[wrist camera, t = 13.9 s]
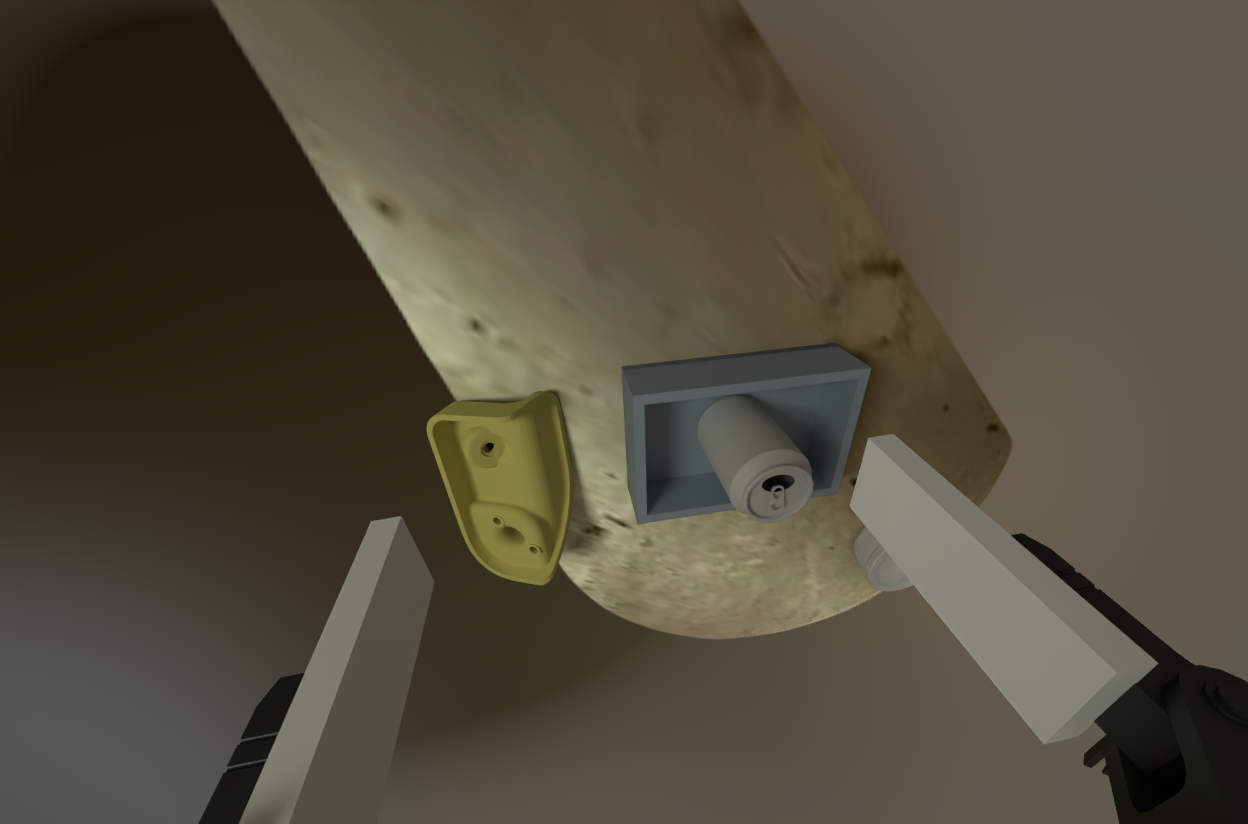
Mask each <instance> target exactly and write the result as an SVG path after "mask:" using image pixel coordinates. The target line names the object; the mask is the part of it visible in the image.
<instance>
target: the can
mask: <svg viewBox="0 0 1248 824" xmlns="http://www.w3.org/2000/svg"><path fill="white" fill-rule="evenodd" d="M697 439H698V441H699V443H700V445H701V447H702V449H703V451H704V452H705V454H706V456H707V458H708V460H709V462H710V463H711V465H712V467H713V469H714V471H715V473H716V475H717V476H718V478H719V480H720V482H721V484H722V486H723V488H724V489H725V491H726V493H727V495H728V497H729V499H730V501H731V502H732V504H733V506H734V508H736V509H737V510H738V511H739V512H741V513H742V514H746V515H747V516H748V517H750V518H751V519H752V520H754V521H758V522H761V523H773V522H778V521H782V520H784V519H787V518H789V517H791V516H793V515H794V514H796V513H797V512H798V511H800V510H801V509H802V508H803V507H804V506H805V504H806V503H807V502H808V501H809V499H810V497H811V494H812V492H813V485H814V482H813V480H812V477H811V474H812V469H811V466H810V463H809V460H808V459H807V458H806V457H805V456H804V455H803V454H802V452H801V451H800V450H799V449H798V448H797V447H796V445H795V444H794V443H793V442H792V441H791V440H790V438H789V437H788V436H787V435H786V434H785V433H784V431H783V430H782V429H781V428H780V427H779V426H778V424H777V423H776V422H775V421H774V420H773V419H772V417H771V416H770V415H769V414H768V413H767V412H766V410H765V409H764V408H763V407H762V406H761V405H760V404H759V403H758V402H757V401H756V400H754V399H752V398H750V397H747V396H737V395H736V396H731V397H726V398H724V399H722V400H720V401H718V402H716V403H714V404H713V405H712V406H711V407H709V408H708V409H707V410H706V411H705V412H704V414H703V416H702V417H701V419H700V420H699V424H698V427H697Z"/></svg>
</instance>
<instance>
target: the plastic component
mask: <svg viewBox="0 0 1248 824" xmlns="http://www.w3.org/2000/svg"><path fill="white" fill-rule="evenodd" d="M427 435H428V438H429V441H430V443H431V446H432V449H433V452H434V455H435V458H436V461H437V464H438V467H439V469H440V472H441V475H442V478H443V481H444V484H445V487H446V489H447V492H448V495H449V497H450V501H451V504H452V507H453V510H454V512H455V515H456V518H457V521H458V524H459V526H460V529H461V532H462V534H463V536H464V539H465V541H466V543H467V545H468V547H469V549H470V550H471V552H472V554H473V555H474V556H475V558H476V559H477V560H478V561H479V562H480V563H481V564H482V565H483V566H484V567H486V568H487V569H488V570H490V571H491V572H493V573H495V574H497V575H498V576H501V577H503V578H506V579H509V580H514V581H519V582H525V583H530V584H536V585H544V584H546V583H547V582H549V581H550V580H551V579H552V577H553V575H554V573H555V571H556V568H557V565H558V563H559V560H560V557H561V554H562V551H563V547H564V544H565V540H566V536H567V531H568V526H569V521H570V515H571V506H572V491H573V482H572V467H571V461H570V455H569V450H568V445H567V439H566V434H565V429H564V423H563V418H562V412H561V407H560V402H559V400H558V398H557V397H556V396H555V394H553V393H551V392H546V391H539V392H535V393H533V394H532V395H530V396H529V397H527V398H526V399H523V400H521V401H517V402H512V403H494V402H475V401H456V402H454V403H451V404H450V405H449V406H447V407H446V408H444V409H443V410H442V411H440V412H439V413H437V414H436V415H435V416H433V417H432V418H431V419H430V420H429V421H428V424H427ZM487 443H493V444H494V447H493V449H492V450H489V451H485V450H484V449H483V447H484V446H485V444H487ZM499 519H500V520H499ZM534 547H535V548H534Z"/></svg>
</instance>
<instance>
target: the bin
mask: <svg viewBox="0 0 1248 824" xmlns="http://www.w3.org/2000/svg"><path fill="white" fill-rule="evenodd" d="M870 372H871V367H869V366H868V365H866V364H865V363H863V362H862V361H860V360H859V359H857V358H856V357H854V356H853V355H851V354H850V353H848V352H847V351H845V350H844V349H842V348H841V347H839V346H838V345H836V344H835V343H832V344H823V345H814V346H805V347H796V348H787V349H778V350H769V351H760V352H751V353H742V354H733V355H724V356H714V357H705V358H696V359H687V360H678V361H669V362H660V363H651V364H642V365H633V366H624V367H622V384H623V402H624V421H625V440H626V459H627V478H628V489H629V492H630V496H631V500H632V504H633V508H634V512H635V516H636V520H637V523H638V524H642V523H649V522H656V521H662V520H669V519H675V518H682V517H689V516H695V515H702V514H708V513H715V512H721V511H728V510H735V509H736V508H734V506H733V504H732V502H731V501H730V499H729V497H728V495H727V493H726V491H725V489H724V488H723V486H722V484H721V482H720V480H719V478H718V476H717V475H716V473H715V471H714V469H713V467H712V465H711V463H710V462H709V460H708V458H707V456H706V454H705V452H704V451H703V449H702V447H701V445H700V443H699V441H698V439H697V427H698V424H699V420H700V419H701V417H702V416H703V414H704V412H705V411H706V410H707V409H708V408H709V407H711V406H712V405H713V404H714V403H716V402H718V401H720V400H722V399H724V398H726V397H731V396H736V395H737V396H747V397H750V398H752V399H754V400H756V401H757V402H758V403H759V404H760V405H761V406H762V407H763V408H764V409H765V410H766V412H767V413H768V414H769V415H770V416H771V417H772V419H773V420H774V421H775V422H776V423H777V424H778V426H779V427H780V428H781V429H782V430H783V431H784V433H785V434H786V435H787V436H788V437H789V438H790V440H791V441H792V442H793V443H794V444H795V445H796V447H797V448H798V449H799V450H800V451H801V452H802V454H803V455H804V456H805V457H806V458H807V459H808V460H809V463H810V466H811V469H812V474H811V477H812V480H813V482H814V485H813V492H812V494H811V497H810V498H814V497H820V496H827V495H833V494H838V491H839V488H840V484H841V480H842V476H843V473H844V469H845V465H846V462H847V458H848V454H849V450H850V447H851V443H852V439H853V435H854V432H855V428H856V424H857V420H858V417H859V413H860V409H861V405H862V402H863V398H864V394H865V391H866V387H867V383H868V379H869V376H870Z"/></svg>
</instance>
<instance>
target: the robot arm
mask: <svg viewBox="0 0 1248 824" xmlns="http://www.w3.org/2000/svg"><path fill="white" fill-rule="evenodd" d="M850 508H851V509H852V510H853V511H854V512H855V514H856V515H857V516H858V517H859V519H860V520H861V521H862V522H863V523H864V525H865V526H866V527H867V528H868V530H869V531H870V532H871V533H872V534H873V536H874V537H875V538H876V539H877V541H878V542H879V543H880V544H881V545H882V547H883V548H884V549H885V550H886V552H887V553H888V554H889V555H890V557H891V558H892V559H893V560H894V561H895V563H896V564H897V565H898V566H899V568H900V569H901V570H902V571H903V572H904V574H905V575H906V576H907V577H908V579H909V580H910V581H911V582H912V583H913V585H914V586H915V587H916V588H917V589H918V591H919V592H920V593H921V594H922V596H923V597H924V598H925V599H926V601H927V602H928V603H929V604H930V605H931V607H932V608H933V609H934V610H935V611H936V613H937V614H938V615H939V616H940V617H941V619H942V620H943V621H944V623H945V624H946V625H947V626H948V627H949V629H950V630H951V631H952V632H953V633H954V635H955V636H956V637H957V638H958V640H959V641H960V642H961V643H962V645H963V646H964V647H965V648H966V649H967V651H968V652H969V653H970V654H971V656H972V657H973V658H974V659H975V661H976V662H977V663H978V664H979V665H980V667H981V668H982V669H983V670H984V672H985V673H986V674H987V675H988V676H989V678H990V679H991V680H992V681H993V683H994V684H995V685H996V686H997V687H998V689H999V690H1000V691H1001V692H1002V693H1003V695H1004V696H1005V697H1006V698H1007V700H1008V701H1009V702H1010V703H1011V705H1012V706H1013V707H1014V708H1015V709H1016V711H1017V712H1018V713H1019V714H1020V716H1021V717H1022V718H1023V719H1024V720H1025V722H1026V723H1027V724H1028V725H1029V727H1030V728H1031V729H1032V730H1033V731H1034V733H1035V734H1036V735H1037V736H1038V738H1039V739H1040V740H1041V741H1042V743H1043V744H1048V743H1051V742H1056V741H1060V740H1064V739H1069V738H1073V737H1077V736H1079V735H1080V734H1081V733H1083V732H1084V731H1085V730H1086V729H1087V728H1088V727H1089V726H1090V725H1091V724H1093V723H1094V722H1095V723H1097V725H1098V726H1099V727H1100V728H1101V729H1102V730H1103V731H1104V732H1105V733H1106V734H1107V735H1105V736H1104V737H1103V738H1102V739H1101V740H1100V741H1098V742H1097V743H1096V744H1095V745H1094V746H1093V747H1091V748H1090V749H1089V750H1088V751H1087V752H1086V753H1085V754H1084V765H1085V766H1088V767H1090V768H1092V767H1093V766H1094V765H1095V764H1097V763H1098V762H1099V761H1100V760H1102V759H1103V758H1104V757H1105V760H1106V766H1105V767H1104V769H1103V770H1102V773H1103V774H1105V775H1108V776H1109V778H1110V783H1111V788H1112V792H1113V797H1114V801H1115V806H1116V810H1117V815H1118V819H1119V824H1248V682H1246V681H1245V680H1243V679H1241V678H1238V677H1236V676H1234V675H1231V674H1229V673H1227V672H1225V671H1222V670H1219V669H1215V668H1211V667H1206V666H1202V665H1197V666H1196V665H1194V664H1192V663H1190V662H1189V661H1188V660H1186V659H1185V658H1184V657H1182V656H1181V655H1179V654H1178V653H1177V652H1175V651H1174V650H1173V649H1172V648H1171V647H1169V646H1168V645H1167V644H1166V643H1164V642H1163V641H1162V640H1161V639H1160V638H1158V637H1157V636H1156V635H1155V634H1153V633H1152V632H1151V631H1150V630H1149V629H1147V628H1146V627H1145V626H1144V625H1143V624H1141V623H1140V622H1139V621H1138V620H1137V619H1135V618H1134V617H1133V616H1132V615H1130V614H1129V613H1128V612H1127V611H1126V610H1124V609H1123V608H1122V607H1121V606H1120V605H1118V604H1117V603H1116V602H1115V601H1113V600H1112V599H1111V598H1110V597H1109V596H1107V595H1106V594H1105V593H1104V592H1102V591H1101V590H1100V589H1099V590H1097V589H1096V588H1095V586H1094V584H1093V583H1091V582H1090V581H1089V580H1088V579H1087V578H1086V577H1084V576H1083V575H1082V574H1081V573H1077V572H1075V570H1074V569H1075V568H1073V567H1072V566H1071V565H1070V564H1069V563H1067V562H1066V561H1065V560H1064V559H1062V558H1061V557H1060V556H1059V555H1057V554H1056V553H1055V552H1054V551H1053V550H1051V549H1050V548H1048V547H1046V546H1044V545H1043V544H1041V543H1039V542H1037V541H1035V540H1034V539H1032V538H1030V537H1028V536H1026V535H1024V534H1023V533H1021V534H1015V535H1010V534H1008V533H1007V532H1006V531H1005V530H1004V529H1002V528H1001V527H1000V526H999V525H998V524H997V523H996V522H994V521H993V520H992V519H991V518H990V517H988V516H987V515H986V514H985V513H984V512H983V511H982V510H981V509H979V508H978V507H977V506H976V505H975V504H974V503H973V502H971V501H970V500H969V499H968V498H967V497H966V496H964V495H963V494H962V493H961V492H960V491H959V490H957V489H956V488H955V487H954V486H953V485H952V484H951V483H949V482H948V481H947V480H946V479H945V478H944V477H942V476H941V475H940V474H939V473H938V472H937V471H936V470H934V469H933V468H932V467H931V466H930V465H929V464H927V463H926V462H925V461H924V460H923V459H922V458H920V457H919V456H918V455H917V454H916V453H915V452H914V451H912V450H911V449H910V448H909V447H908V446H907V445H905V444H904V443H903V442H902V441H901V440H900V439H899V438H897V437H896V436H895V435H894V434H889V435H883V436H877V437H871V438H868V441H867V445H866V449H865V452H864V456H863V460H862V463H861V467H860V471H859V474H858V478H857V482H856V485H855V489H854V493H853V496H852V500H851V504H850ZM433 585H434V580H433V578H432V576H431V574H430V572H429V570H428V568H427V567H426V565H425V562H424V560H423V558H422V556H421V555H420V553H419V551H418V549H417V547H416V545H415V543H414V541H413V539H412V537H411V535H410V533H409V531H408V529H407V527H406V525H405V523H404V521H403V519H402V517H394V518H389V519H384V520H377V521H371V523H370V525H369V528H368V530H367V532H366V535H365V537H364V539H363V541H362V544H361V546H360V548H359V551H358V553H357V555H356V557H355V560H354V562H353V564H352V567H351V569H350V571H349V573H348V576H347V578H346V580H345V583H344V585H343V587H342V590H341V592H340V594H339V596H338V598H337V601H336V603H335V605H334V608H333V610H332V612H331V615H330V617H329V619H328V621H327V624H326V626H325V628H324V630H323V633H322V635H321V638H320V640H319V642H318V644H317V646H316V649H315V651H314V653H313V656H312V658H311V660H310V662H309V665H308V667H307V669H306V672H305V673H302V674H296V675H291V676H286V677H281V678H280V679H279V680H278V681H277V682H276V684H275V685H274V686H273V687H272V689H271V690H270V691H269V692H268V693H267V695H266V696H265V697H264V698H263V699H262V701H261V702H260V703H259V704H258V706H257V707H256V709H255V711H254V713H253V715H252V717H251V719H250V721H249V723H248V725H247V727H246V729H245V731H244V733H243V735H242V737H241V743H240V745H238V746H237V747H236V749H235V751H234V753H233V755H232V757H231V759H230V761H229V763H228V765H227V767H228V769H227V771H226V772H225V773H223V775H222V777H221V779H220V781H219V783H218V785H217V787H216V789H215V791H214V793H213V796H212V797H211V800H210V801H209V804H208V805H207V808H206V809H205V812H204V814H203V816H202V818H201V820H200V822H199V824H376V823H377V818H378V814H379V810H380V806H381V802H382V797H383V794H384V789H385V785H386V781H387V777H388V773H389V769H390V764H391V760H392V756H393V752H394V748H395V744H396V739H397V735H398V731H399V727H400V723H401V719H402V714H403V710H404V706H405V702H406V697H407V694H408V689H409V685H410V681H411V677H412V673H413V668H414V664H415V660H416V656H417V652H418V648H419V643H420V639H421V635H422V631H423V627H424V623H425V618H426V614H427V610H428V606H429V602H430V598H431V593H432V589H433Z"/></svg>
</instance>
